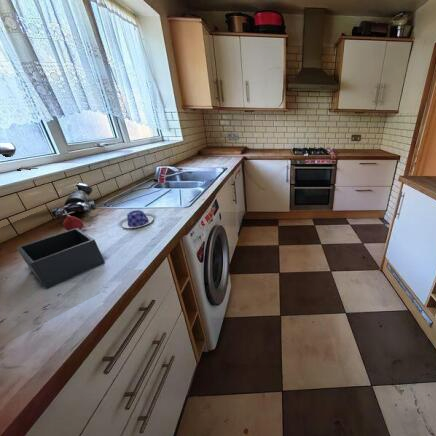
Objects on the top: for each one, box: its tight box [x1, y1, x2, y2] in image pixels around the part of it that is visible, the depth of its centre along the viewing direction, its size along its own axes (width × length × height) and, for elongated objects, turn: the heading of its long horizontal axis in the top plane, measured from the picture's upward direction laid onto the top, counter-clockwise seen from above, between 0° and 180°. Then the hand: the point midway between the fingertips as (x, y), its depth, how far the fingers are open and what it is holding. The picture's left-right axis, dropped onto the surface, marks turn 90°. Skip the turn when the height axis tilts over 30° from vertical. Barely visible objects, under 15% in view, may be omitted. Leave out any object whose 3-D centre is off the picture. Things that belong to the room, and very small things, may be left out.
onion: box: [62, 214, 84, 231], centre depth 92 cm, size 6×6×8 cm
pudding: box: [121, 209, 154, 229], centre depth 100 cm, size 12×12×5 cm
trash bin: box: [16, 228, 106, 290], centre depth 72 cm, size 15×15×9 cm
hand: (72, 214), depth 96 cm, fingers open, 8 cm apart
